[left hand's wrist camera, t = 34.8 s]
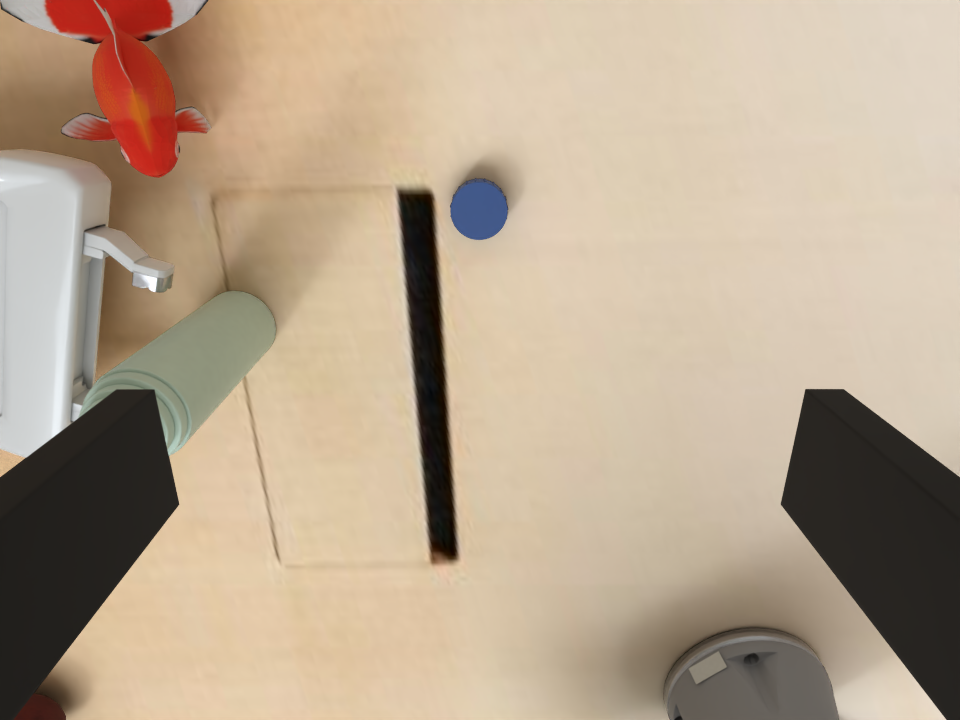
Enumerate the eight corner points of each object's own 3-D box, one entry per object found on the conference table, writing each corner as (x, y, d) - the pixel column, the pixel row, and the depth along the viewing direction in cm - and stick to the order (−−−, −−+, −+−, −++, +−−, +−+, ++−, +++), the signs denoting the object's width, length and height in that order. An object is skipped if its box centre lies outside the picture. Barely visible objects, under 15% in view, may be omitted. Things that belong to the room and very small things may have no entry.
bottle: (247, 372, 48) (89, 549, 28) (189, 325, 46) (-19, 478, 27) (290, 325, 46) (156, 478, 27) (232, 275, 45) (46, 399, 25)
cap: (514, 187, 42) (515, 191, 40) (497, 241, 44) (498, 247, 42) (460, 170, 42) (459, 173, 40) (445, 225, 43) (443, 231, 41)
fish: (15, 181, 38) (-58, 113, 28) (33, -65, 38) (-32, -209, 29) (208, 206, 41) (199, 153, 32) (220, -18, 42) (215, -132, 33)
